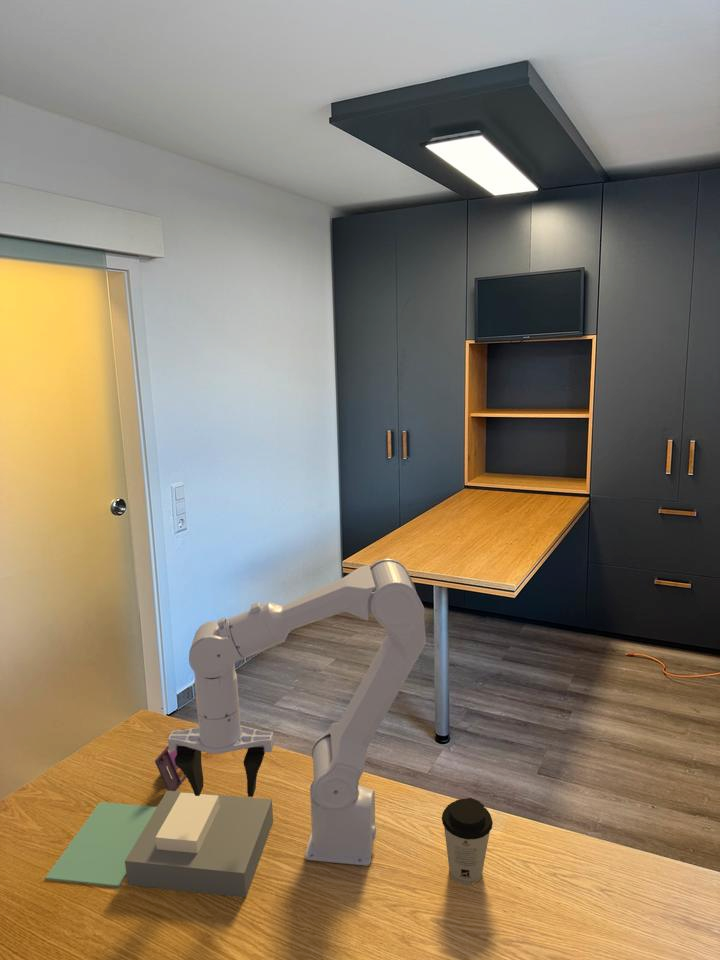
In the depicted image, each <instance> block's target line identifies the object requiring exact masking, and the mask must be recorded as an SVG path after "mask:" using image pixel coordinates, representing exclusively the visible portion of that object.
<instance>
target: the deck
mask: <svg viewBox="0 0 720 960" xmlns="http://www.w3.org/2000/svg"><path fill="white" fill-rule="evenodd" d="M181 792H182V793H192V791H190V792H189V791H178V790H176V791H168V790H167V789H166V791H165V793H164V795H163V797H162V798H161V800H160V802H159V803H158V805H157V806H156V807H157V808H156V810H155V811H154V813H153V815H152V816H151V818H150V820H149V821H148V823H147V825H146V826H145V828H144V830H143V831H142V833H141V835H140V836H139V838H138V840H137V841H136V843H135V845H134V846H133V848H132V850H131V851H130V853H129V855H128V856H127V858H126V860H125V867H126V882H127V886H135V887H142V888H143V887H144V888H151V889H152V888H153V889H162V890H170V891H180V892H181V891H182V892H189V893H191V892H192V893H198V894H199V893H200V894H211V895H219V896H227V897H228V896H229V897H237V898H238V897H239V898H247V896H248V894H249V890H250V887H251V884H252V881H253V879H254V876H255V873H256V871H257V868H258V865H259V862H260V860H261V857H262V854H263V851H264V848H265V845H266V843H267V839H268V837H269V835H270V831H271V828H272V826H273V823H274V813H273V812H274V811H273V799H271V798H260V797H259V798H258V797H248V796H237V795H235V796H234V795H227V794H226V795H224V794H216V793H215V794H211V793H202V792H201V794H205V795H217V796H219V805H220V807H219V809H218V812H217V814H216V816H215V818H214V820H213V822H212V824H211V826H210V828H209V831H208V833H207V835H206V837H205V839H204V841H203V843H202V845H201V847H200V850H199V852H198V853H190V852H180V851H170V850H160V849H157V847H156V835H157V834H158V832H159V830H160V828H161V827H162V825H163V823H164V821H165V820H166V818H167V816H168V814H169V813H170V811H171V809H172V807H173V806H174V804H175V802H176V800H177V799H178V797H179V795H180V793H181Z"/></svg>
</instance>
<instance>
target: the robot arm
mask: <svg viewBox="0 0 720 960" xmlns="http://www.w3.org/2000/svg"><path fill="white" fill-rule="evenodd" d="M425 610H426V609H425V607H424V605H423V603H422V601H421V599H420V597H419V595H418V592H417V591H416V586H415V583H414V581H413V580H412V578H411V576H410V574H409V572H408V570H407V568H406V567H405V565H404V564H403V563H401V562H400V561H398V560H397V559H392V558H383V559H382V558H381V559H379V560H377V561H375V562H373V563H372V564H371V565H370V564H365V565H362V566H360V567H358V568H356V569H354V571H352V572H350V573H348V574H347V575H345V576H343V577H341V578H339V579H337V580H335V581H333V582H331V583H329V584H327V585H325V586H322V587H320V588H318V589H316V590H314V591H312V592H309V593H308V594H306V595H303V596H301V597H299V598H297V599H295V600H292V601H290V602H289V603H286V604H284V605H279V604H277V603H274V602H270V601H268V602H266V603H263V604H261V602H260V601H257V602H255V603H252V604H251V605H250V609H249V610H246V611H244V612H242V613H239V614H236V615H234V616H232V617H230V618H226V617H222V618H219V619H218V621H216V620H211V621H207V622H204V623H203V624H201V625H200V626H199V627H198V629H197V630H196V632H195V634H194V637H193V640H192V643H191V646H190V649H189V655H188V664H189V666H190V668H191V669H192V671H193V673H194V678H195V679H194V689H195V690H194V691H195V700H196V711H197V719H198V727H193V728H188V729H185V730H182V729H181V730H180V729H179V730H171V733H170V734H169V736H168V738H167V746H169V749H168V752H170V751H176V750H177V755H176V757H175V764H176V766H178V767H179V768H178V769H179V770H180V771H181V772H182V773H183V774H184V775H186V779H187V781H188V782H189V784H190V786H191V788H192V791H193V793H194V794H195V796H200V794H201V793H202V790H203V788H204V771H203V765H202V752H204V753H208V754H211V755H212V754H213V755H218V754H226V753H231V752H235V751H240V750H246V753H245V757H244V759H243V767H244V770H245V774H246V786H247V787H246V788H247V789H246V790H247V791H246V792H247V797H250V798H254V794H255V791H256V788H257V778H258V772H259V771H260V768H261V765H262V763H263V761H264V756H265V754H266V753H272V752H273V748H274V745H275V742H274V741H275V739H274V732H273V731H265V730H261V729H256V728H253V727H248V726H245V725H241V709H240V698H239V686H238V685H239V684H238V674H237V672H236V667H235V665H236V664H235V663H237V662H240V661H241V660H244V659H247V658H248V657H251V656H253V655H256V654H258V653H261V652H263V651H267V650H268V649H271V648H273V647H276V646H279V645H281V644H282V643H285V642H286V639H287V637H288V635H289V634H290V632H291V631H292V630H294V629H297V628H300V627H303V626H307V625H310V624H312V623H316V622H318V621H321V620H325V619H328V618H330V617H333V616H336V615H339V614H342V613H345V612H346V613H349V614H351V615H353V616H355V617H357V618H360V619H363V620H365V621H369V619H370V618H369V613H372V615H373V618H374V619H375V620H376V621H377V623H379V625H380V626H381V627H383V628H384V629H385V632H386V633H387V634H386V636H385V638H384V640H383V641H382V643H381V645H380V647H379V649H378V650H377V651H376V654H375V656H374V658H373V659H372V661H371V664H370V665H369V666H368V668H367V670H366V672H365V674H364V676H363V678H362V680H361V681H360V683H359V685H358V687H357V689H356V691H355V692H354V694H353V695H352V697H351V699H350V702H349V703H348V705H347V707H346V708H345V711H344V712H343V714H342V716H341V718H340V720H339V721H338V722H333V723H331V724H330V727H329V728H328V730H327V731H326V732H325V733H324V734H322V735H321V736H319V737H318V738H317V739H316V740H315V741H314V743H313V745H312V748H311V757H312V763H313V766H312V769H313V781H312V782H311V784H310V786H309V787H310V788H309V794H310V796H309V797H310V798H309V799H310V822H311V831H310V836H309V839H308V843H307V847H306V850H305V854H304V859H305V860H306V861H317V862H325V863H326V862H327V863H336V864H347V865H357V866H367V867H368V866H369V865H370V864H371V862H372V861H371V860H372V854H373V847H374V842H375V840H376V836H377V835H376V834H377V832H376V831H377V827H376V826H377V825H376V797H375V796H376V794H375V790H373V789H370V788H367V787H364V786H363V785H361V784H359V783H360V779H361V777H362V775H363V774H364V770H365V765H366V760H367V759H366V758H367V752H368V747H369V745H370V744H371V742H372V740H373V738H374V736H375V735H376V734H377V731H378V730H379V727H380V726H381V724H382V723H383V721H384V719H385V717H386V715H388V712H389V710H390V709H391V706H392V705H393V703H394V702H395V699H396V698H397V696H398V694H399V693H400V690H401V689H402V687H403V685H404V684H405V682H406V679H407V678H408V676H409V674H410V673H411V671H412V669H413V667H414V665H415V664H416V662H417V661H418V659H419V657H420V655H421V653H422V652H423V650H424V648H425V646H426V643H427V636H426V635H427V634H426V627H425V626H426V624H425Z"/></svg>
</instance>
